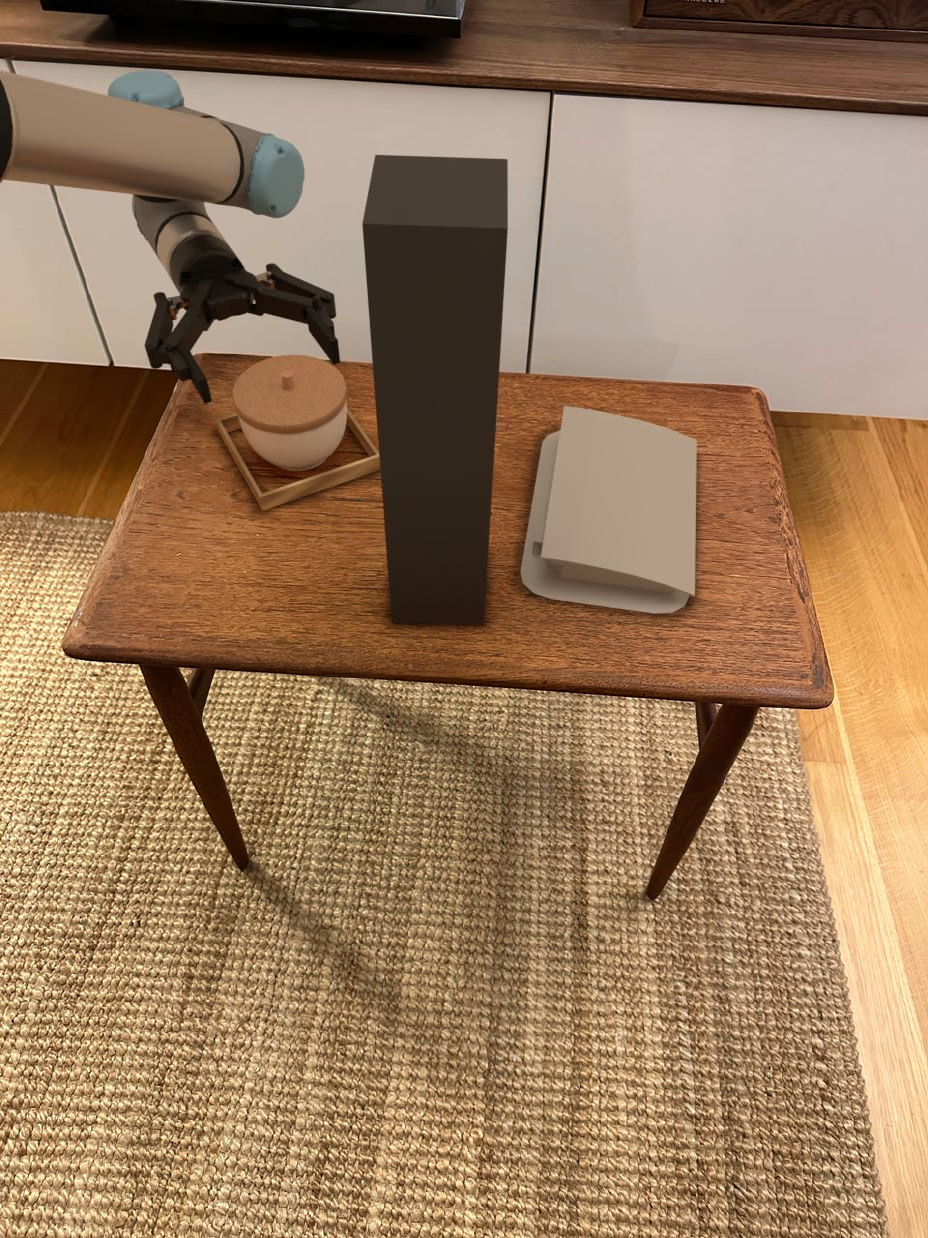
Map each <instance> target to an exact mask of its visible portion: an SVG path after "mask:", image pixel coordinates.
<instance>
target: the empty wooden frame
mask: <svg viewBox="0 0 928 1238" xmlns="http://www.w3.org/2000/svg"><path fill="white" fill-rule="evenodd" d="M215 422H216V426H217V430H218V434H219V436H220V437H221V439H222V441H223V443H224V444H225V446H226V448H227V450H228V451H229V454H230V456H231V457H232V459H233V461H234V462H235V464H236V466H237V468H238V470H239V472H240V473H241V475H242V477H243V478H244V480H245V483H246V484H247V486H248V487H249V490H250V491H251V493H252V495H253V497H254V498H255V500H256V502H257V503H258V505H259V507H260V509H261V511H267V510H269V509H271V508H275V507H278V506H280V505H283V504H286V503H290V502H292V501H295V500H298V499H301V498H304V497H307V496H309V495H312V494H315V493H318V492H321V491H324V490H327V489H329V488H332V487H336V486H338V485H341V484H344V483H347V482H349V481H353V480H355V479H359V478H362V477H365V476H367V475H370V474H373V473H376V472H379V471H380V457H379V449H377V448H376V446H375V445H374V443H373V442H372V440H371V439H370V438H369V436H368V434H367V433H366V432H365V430H364V429H363V427H362V426H361V425H360V423H359V422H358V421H357V419H356V417H355V415H354V414H353V413H352V411H350V409H349V407H347V420H346V426H347V427H348V428H349V429H350V431H351V433H352V434H353V435H354V437H355V438H356V440H357V441H358V442H359V444H360V445H361V446H362V448H363V450H364V451H365V453H366V454H367V455H368V457H365V458H363V459H359V460H356V461H354V462H350V463H348V464H345V465H342V466H339V467H336V468H333V469H331V470H327V471H324V472H321V473H318V474H316V475H313V476H310V477H307V478H304V479H301V480H297V481H295V482H292V483H289V484H287V485H284V486H281V487H277V488H274V489H271V490H268V491H265V492H262V491H261V488H260V487H259V486H258V484H257V482H256V480H255V478H254V476H253V475H252V473H251V471H250V469H249V468H248V466H247V464H246V462H245V460H244V459H243V457H242V456H241V454H240V452H239V451H238V449H237V447H236V445H235V442H233V440H232V438H231V436H230V434H229V433H231V432H234V431H238V430H240V429H241V426H240V423H239V419H238V416H237V412H234V413H232V414H228V415H225V416H222V417H218V418H216V419H215ZM241 430H242V429H241Z"/></svg>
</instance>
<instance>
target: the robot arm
mask: <svg viewBox="0 0 928 1238" xmlns="http://www.w3.org/2000/svg"><path fill="white" fill-rule="evenodd" d="M305 173H306V172H305V165H304V161H303V157H302V154H301V153H300V152H299V150H298V148H296V146H295V145H294V144H293V143H291V142H290V141H287V140H284V139H282V138H280V137H278V136H276V135H274V134H272V133H269V132H264V131H263V132H262V131H260V130H256V129H253V128H250V127H247V126H243V125H241V124H238V123H234V122H231V121H227V120H224V119H221V118H218V117H216V116H214V115H211V114H208V113H205V112H203V111H199V110H197V109H193V108H190V107H187V106H185V97H184V96H183V93H182V91H181V88H180V84H179V82H178V81H177V80H176V79H175V78H173V76H172V75H170V74H169V73H167V72H163V71H160V70H154V69H153V70H152V69H144V70H136V71H135V70H134V71H131V72H127V73H125V74H123V75H120V76H118V77H116V78H115V79H114V80H113V81H112V82H111V83H110V84H109V86H108V89H107V94H104V93H99V92H95V91H90V90H86V89H82V88H79V87H78V88H77V87H74V86H69V85H64V84H61V83H56V82H52V81H48V80H43V79H39V78H35V77H31V76H27V75H23V74H17V73H13V72H9V71H5V70H1V69H0V184H1V183H2V182H3V181H10V182H11V181H12V182H21V183H29V184H36V185H37V184H39V185H47V186H54V187H55V186H57V187H63V188H72V189H73V188H74V189H83V190H93V191H100V192H108V193H109V192H110V193H119V194H128V195H132V199H131V210H132V213H133V217H134V219H135V221H136V226H137V229H138V231H139V232H140V234H141V235H142V236H143V238H144V240H145V241H146V242H147V243H148V244H149V246H150V247H151V249H152V251H153V252H154V254H155V256H156V257H157V258H158V260H159V262H160V263H161V265H162V267H163V268H164V270H165V272H166V274H167V275H168V277H169V278H170V280H171V281H172V284H173V285H174V287H175V289H176V290H177V292H178V293H179V295H175V296H171V297H167V296H166V293H165V292H163V291H158V292H155V293H154V294H153V299H154V303H155V308H154V311H153V315H152V319H151V322H150V324H149V325H150V326H149V329H148V332H147V336H146V339H145V342H144V349H145V352H146V355H147V359H148V362H149V365H150V368H151V369H153V370H154V369H155V370H157V369H160V368H162V367H163V365H168V366H169V367H170V370H171V373H172V374H175V375H176V376H177V378H178V380H179V381H180V382H183V383H184V382H186V381H191V382H192V384H193V386H194V388H195V389H196V391H197V393H198V395H199V397H200V398H201V400H202V402H203V403H204V405H205V404H210V403H212V402H213V399H212V396H211V392H210V388H209V383H208V380H207V377H206V376H205V374H204V372H203V371H202V369H201V367H200V365H199V364H198V362H197V360H196V359H195V357H194V355H193V354H192V352H191V351H192V350H193V348H194V346H196V344H197V342H198V340H199V339H200V337H201V336H202V334H203V333H204V332H208V331H209V329H210V328H211V326H212V324H213V323H214V322H215V321H218V322H220V321H224V320H228V319H229V318H232V317H237V316H243V315H246V314H250V315H254V316H258V317H262V316H264V315H265V314H266V315H269V316H273V317H277V318H281V319H285V320H289V321H292V322H297V323H301V324H303V325H307V327H308V332H309V333H310V335H311V336H312V337H313V339H314V340H315V342H316V343H317V344H318V346H319V347H320V348H321V351H323V352H324V354H325V355H326V356H327V358H328V359H329V361H330V362H331V364H332V365H333V366H334V365H337V364H340V363H341V357H340V348H339V347H340V346H339V340H338V338H337V337H336V332H335V324H334V323H335V322H334V321H333V320H332V319H335V318H336V317H337V308H336V299H335V294H334V293H333V292H331V291H329V290H326V289H324V288H322V287H319V286H317V285H314V284H313V283H310V282H308V281H305V280H304V279H302V278H299V277H297V276H294V275H292V274H290V273H287V272H285V271H284V270H282V269H281V267H279V266H278V265H277V264H276V263H274V262H273V263H272V262H270V263H267V264H266V265H265V270H266V271H265V272H262V273H260V274H256V275H255V274H254V273H252V272H249V271H248V270H246V267H245V266H244V264H243V263H242V261H241V260H240V259H239V256H237V254H236V253H235V252H234V250H233V249H232V248H231V247H232V246H230V244H229V243H228V241H227V240H226V239H225V237H224V236H223V235H222V233H221V232H220V230H219V229H218V227H217V226H216V224H214V222H213V221H212V219H211V218H210V216H209V215H208V211H207V209H206V206H205V205H206V204H207V203H208V204H211V205H212V204H213V205H217V206H225V207H226V206H228V207H235V208H240V209H244V210H247V211H250V212H252V214H254V215H257V216H266V217H269V218H272V219H280V218H284V217H287V215H289V214H290V213H291V212H293V210H294V209H295V208H296V207H297V206H298V203H299V202H300V199H301V198H302V193H303V191H304V189H303V187H304V182H305V177H306V175H305ZM205 203H206V204H205ZM182 309H183V310H184V311H185V312H184V314H183V315H182V317H181V318H180V320H179V321H178V323H177V324H176V325H175V327H174V321H176V320H177V319H178V316H177V315H178V314H179V312H180V310H182Z"/></svg>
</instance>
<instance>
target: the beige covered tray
mask: <svg viewBox="0 0 928 1238" xmlns="http://www.w3.org/2000/svg"><path fill="white" fill-rule="evenodd" d="M697 453H698V440H697V439H696V438H693V437H690V436H689V435H686V434H684V433H681V432H680V431H679V432H678V431H676V430H675V429H672V428H670V427H669V428H668V427H665V426H662V425H659V424H655V423H652V422H648V421H645V420H642V419H637V418H632V417H629V416H624V415H621V414H615V413H610V412H605V411H599V410H595V409H590V408H584V407H577V406H576V407H575V406H568V405H563V411H562V418H561V423H560V429H559V430H557V431H554V432H551V433H550V434H547V435H546V437H545V438H544V440H543V441H542V444H541V448H540V454H539V459H538V465H537V470H536V471H537V472H536V476H535V477H536V478H535V484H534V490H533V495H532V501H531V507H530V514H529V517H528V525H527V531H526V537H525V542H524V548H523V554H522V558H521V559H522V560H521V565H520V571H519V573H520V576H521V582H522V585H524V587H526V588H527V589H528V590H529V591H530V592H531V593H533V594H534V595H537V596H540V597H543V598H546V599H549V600H552V601H553V600H554V601H559V602H560V601H562V602H569V603H575V604H581V605H589V606H597V607H602V608H609V609H610V608H611V609H618V610H625V611H630V612H631V611H632V612H639V613H646V614H653V615H656V614H657V615H658V614H659V615H660V614H661V615H662V614H673V613H675V612H677V611H679V610H681V609H682V608H684V607H685V606H686V605H687V602H688V600H689V597H690V596H692V597H694V598H695V596H696V545H697V544H696V539H697V538H696V537H697V535H696V533H697V532H696V531H697V529H696V528H697V458H698V454H697Z"/></svg>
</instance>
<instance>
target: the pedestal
mask: <svg viewBox="0 0 928 1238" xmlns="http://www.w3.org/2000/svg"><path fill="white" fill-rule="evenodd" d="M508 161H509V160H508V158H488V157H487V158H485V157H457V156H455V157H454V156H430V155H429V156H427V155H426V156H425V155H395V154H393V155H392V154H375V155H374V159H373V163H372V169H371V170H372V171H371V175H370V181H369V186H368V192H367V196H366V202H365V208H364V212H363V217H362V222H361V223H362V225H361V226H362V235H363V236H362V237H363V251H364V252H363V253H364V266H365V278H366V292H367V293H366V294H367V305H368V306H367V307H368V320H369V332H370V333H369V335H370V346H371V347H370V348H371V360H372V361H371V362H372V373H373V374H372V375H373V387H374V398H375V399H374V401H375V414H376V427H377V428H376V429H377V442H378V452H379V457H380V470H379V471H380V483H381V493H382V494H381V497H382V511H383V523H384V524H383V525H384V535H385V536H384V537H385V538H384V539H385V550H386V551H385V552H386V561H387V562H386V564H387V578H388V592H389V605H390V619H391V623H393V624H417V625H418V624H419V625H444V626H445V625H446V626H447V625H448V626H474V627H475V626H476V627H484V626H485V620H486V619H485V616H486V615H485V614H486V601H487V600H486V599H487V585H488V568H489V567H488V566H489V551H490V536H491V535H490V533H491V519H492V516H491V515H492V503H493V502H492V500H493V485H494V484H493V483H494V466H495V449H496V434H497V416H498V400H499V399H498V398H499V384H500V383H499V381H500V365H501V348H502V335H503V334H502V333H503V331H502V330H503V318H504V317H503V316H504V315H503V314H504V297H505V281H506V268H507V267H506V266H507V265H506V264H507V250H508V249H507V248H508V233H509V232H508V230H509V193H508V192H509V189H508V188H509V177H508V176H509V175H508V173H509V172H508V171H509V168H508V167H509V165H508V164H509V163H508Z"/></svg>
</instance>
